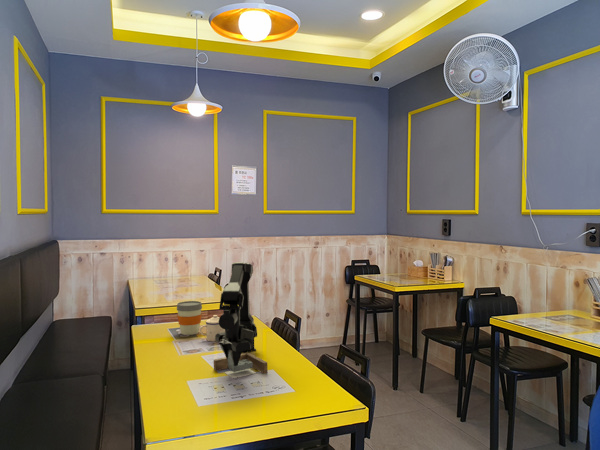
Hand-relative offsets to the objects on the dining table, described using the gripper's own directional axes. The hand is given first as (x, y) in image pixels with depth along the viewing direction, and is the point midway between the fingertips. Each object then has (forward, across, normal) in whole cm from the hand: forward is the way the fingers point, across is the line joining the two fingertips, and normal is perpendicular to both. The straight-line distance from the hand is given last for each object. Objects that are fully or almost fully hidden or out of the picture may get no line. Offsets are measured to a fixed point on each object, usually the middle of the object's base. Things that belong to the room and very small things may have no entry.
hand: (232, 363), depth 174 cm
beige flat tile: (+4, 0, -3) cm, 5 cm away
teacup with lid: (+4, +49, -13) cm, 51 cm away
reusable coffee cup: (+4, +68, -9) cm, 69 cm away
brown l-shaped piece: (+4, +1, -4) cm, 6 cm away
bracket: (+2, 0, -3) cm, 4 cm away
